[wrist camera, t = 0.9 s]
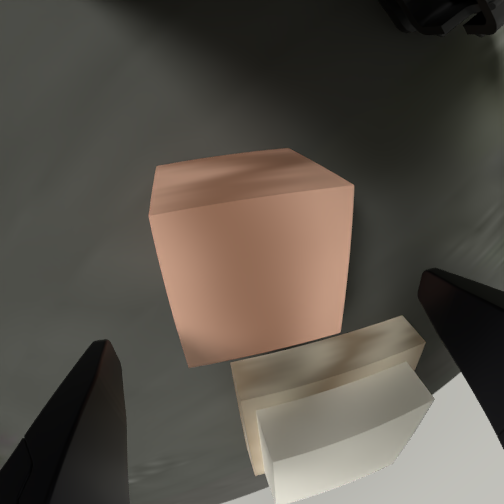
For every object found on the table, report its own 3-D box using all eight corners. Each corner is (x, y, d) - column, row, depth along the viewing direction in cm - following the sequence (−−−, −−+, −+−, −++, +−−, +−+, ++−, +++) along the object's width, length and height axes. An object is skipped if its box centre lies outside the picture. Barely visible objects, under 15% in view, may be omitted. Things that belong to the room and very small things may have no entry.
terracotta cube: (287, 147, 13) (354, 184, 9) (290, 259, 16) (340, 332, 11) (156, 165, 12) (148, 215, 8) (178, 280, 15) (188, 367, 10)
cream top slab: (406, 361, 18) (434, 398, 15) (375, 433, 23) (392, 463, 20) (255, 410, 17) (272, 462, 14) (264, 470, 22) (276, 506, 19)
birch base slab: (398, 310, 21) (425, 342, 18) (368, 405, 27) (385, 432, 24) (228, 355, 19) (240, 401, 16) (245, 442, 25) (255, 475, 22)
